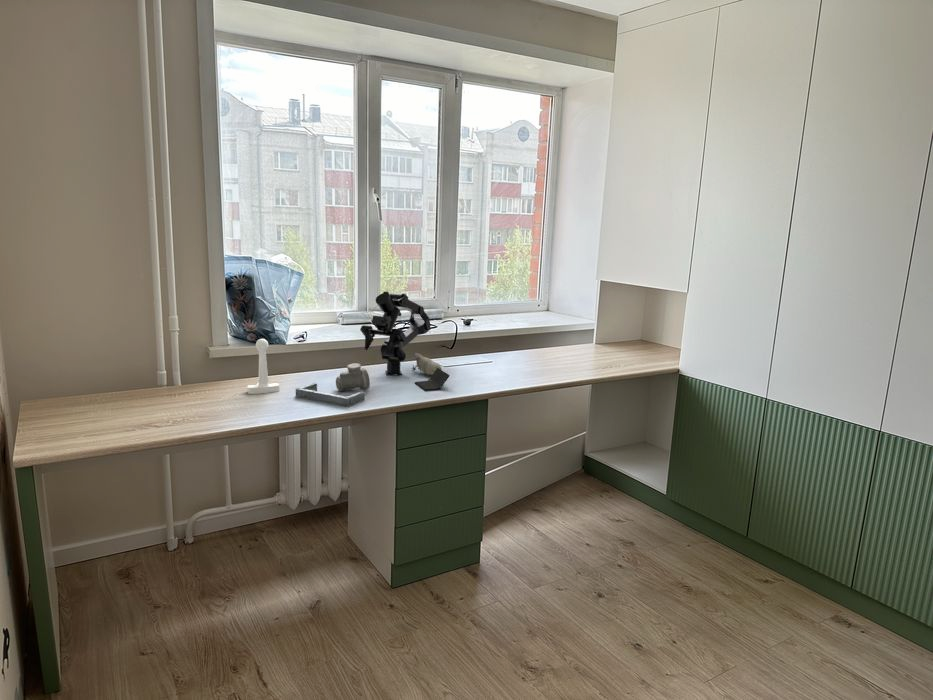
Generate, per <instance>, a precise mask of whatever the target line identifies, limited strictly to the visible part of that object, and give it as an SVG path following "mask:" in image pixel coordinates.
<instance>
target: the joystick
mask: <svg viewBox="0 0 933 700" xmlns="http://www.w3.org/2000/svg"><path fill="white" fill-rule="evenodd" d="M255 348H256V349H257V350H258V382H257V383H256V384H251V385H250V384H249V385H247V387H246V389H247V394H248V395H249V394H251V395H252V394H253V395H255V394H257V395H258V394H268V393H269V394H270V393H277V392H279V391H280V384H279V383H278V382H274V383H270V382H269V375H268V373H269V372H268V363H267V353H266V351H267V349H268V348H269V342H268V340H266V339H265V338H259V339H258V340H256V343H255Z"/></svg>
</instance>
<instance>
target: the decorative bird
mask: <svg viewBox="0 0 933 700" xmlns="http://www.w3.org/2000/svg"><path fill="white" fill-rule="evenodd" d="M413 355H414V356H415V357H416V360H415V361H416V365H415V366H414V364H412V371H413V372H415V371H417V370H418V371H421V372H422V373H423V374H424V375H429V376H432V375H433V374H434V372H435V371H436V369H437V368H439V369H440V370H442V371H443V369H442V367H441V365H440V363H438V362H436V361H434V360H432V359H431V358H429V357H425V356H423V355H422V354H420V353H418V352H415V353H414V354H413ZM416 368H418V369H416Z"/></svg>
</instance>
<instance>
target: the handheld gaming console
mask: <svg viewBox="0 0 933 700" xmlns="http://www.w3.org/2000/svg"><path fill="white" fill-rule="evenodd" d="M449 378H450V374H448V373H447V372H445V371H443V369H442V370H440V369H439V368H437V369H436V371H435V372H434V374H433V375H430V378H429V379H428V380H420V381H414V384H415V385H416V386H417V387H419V388H420V389H421V390H423V391H424V392H432V391H433V392H434V391H441V390H442V388H443V386H444V384H445V383H446V382H447V380H448V379H449Z"/></svg>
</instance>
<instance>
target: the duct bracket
mask: <svg viewBox="0 0 933 700" xmlns="http://www.w3.org/2000/svg"><path fill="white" fill-rule="evenodd" d="M295 398H300V399H305V400H310V401H315V402H321V403H326V404H331V405H336V406H341V407H346V408H349V407H351V406H354V405H356V404H358V403H361V402H363V401H365V399H366V392H365V391H362V390H361V391H358V392H355V393H353V394H350V395H349V396H344V395H338V394H333V393H328V392H322V391H319V390H318V383H317V382H312V383H308V384H305V385H302V386H301V387H300V386H299V387H297V388H295Z"/></svg>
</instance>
